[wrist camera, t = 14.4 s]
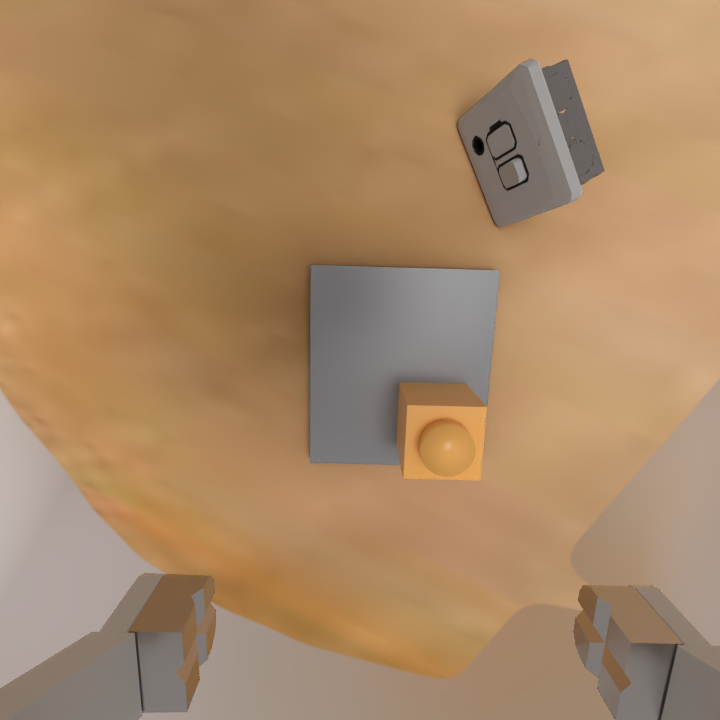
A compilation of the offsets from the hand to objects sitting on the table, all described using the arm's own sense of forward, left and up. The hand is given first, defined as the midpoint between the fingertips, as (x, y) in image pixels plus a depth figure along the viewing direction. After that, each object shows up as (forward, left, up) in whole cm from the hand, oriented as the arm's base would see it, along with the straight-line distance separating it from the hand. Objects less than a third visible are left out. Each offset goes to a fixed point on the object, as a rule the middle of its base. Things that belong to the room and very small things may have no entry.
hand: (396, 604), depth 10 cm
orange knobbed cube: (+6, +6, -30) cm, 31 cm away
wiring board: (+2, +3, -31) cm, 31 cm away
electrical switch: (-16, +11, -31) cm, 37 cm away
